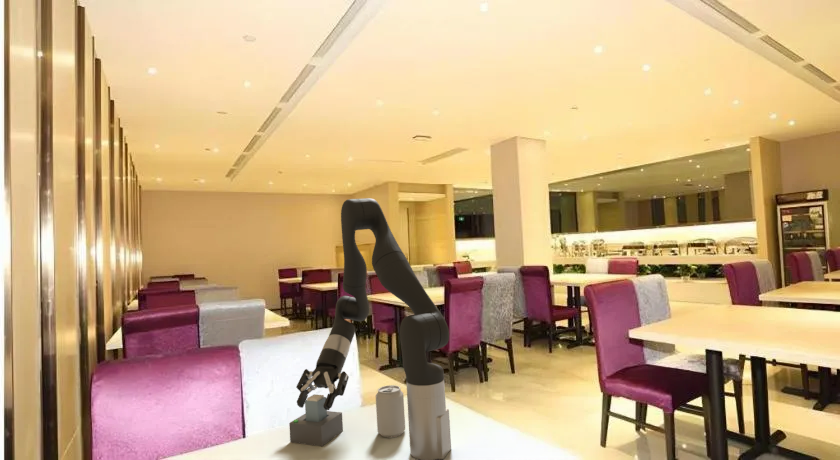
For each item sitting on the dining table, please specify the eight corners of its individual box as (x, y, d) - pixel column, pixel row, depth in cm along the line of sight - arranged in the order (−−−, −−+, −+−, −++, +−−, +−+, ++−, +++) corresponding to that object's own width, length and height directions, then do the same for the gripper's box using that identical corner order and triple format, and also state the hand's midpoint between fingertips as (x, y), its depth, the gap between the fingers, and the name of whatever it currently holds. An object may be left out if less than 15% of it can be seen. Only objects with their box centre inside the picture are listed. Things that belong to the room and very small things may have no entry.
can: (372, 436, 121) (369, 391, 121) (387, 425, 127) (384, 382, 128) (396, 440, 117) (393, 393, 118) (410, 429, 124) (408, 385, 124)
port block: (342, 430, 126) (341, 411, 126) (322, 446, 117) (321, 424, 117) (312, 427, 130) (311, 408, 130) (290, 442, 120) (289, 421, 120)
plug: (327, 430, 124) (325, 394, 125) (319, 436, 121) (317, 399, 121) (315, 428, 126) (313, 393, 126) (306, 434, 122) (304, 398, 122)
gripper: (307, 346, 133) (284, 399, 122) (349, 347, 128) (329, 403, 117) (319, 360, 138) (297, 411, 127) (360, 362, 133) (341, 416, 122)
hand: (312, 407), depth 122 cm, fingers open, 8 cm apart
